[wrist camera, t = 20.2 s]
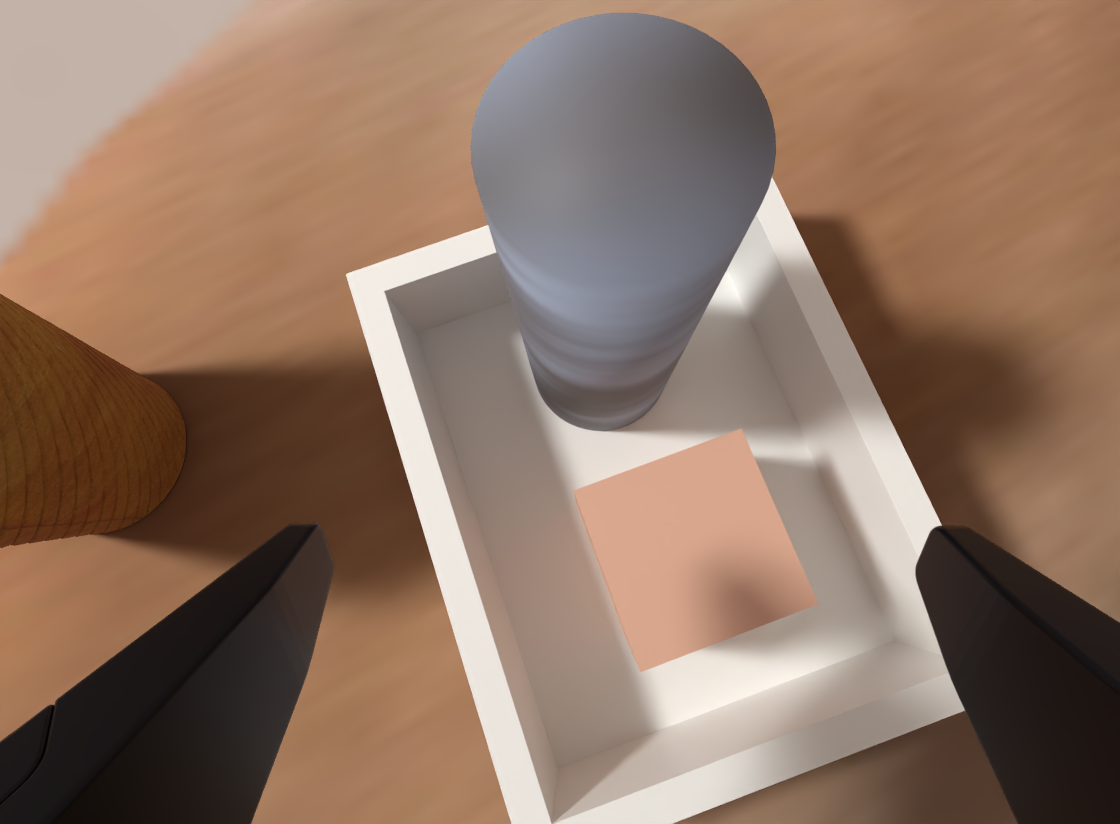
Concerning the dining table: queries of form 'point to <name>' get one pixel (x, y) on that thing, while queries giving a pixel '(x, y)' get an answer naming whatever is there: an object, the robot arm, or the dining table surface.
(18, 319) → the disposable coffee cup
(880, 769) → the dining table surface
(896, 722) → the tote
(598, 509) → the terracotta cube
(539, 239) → the slate peg
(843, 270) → the dining table surface
